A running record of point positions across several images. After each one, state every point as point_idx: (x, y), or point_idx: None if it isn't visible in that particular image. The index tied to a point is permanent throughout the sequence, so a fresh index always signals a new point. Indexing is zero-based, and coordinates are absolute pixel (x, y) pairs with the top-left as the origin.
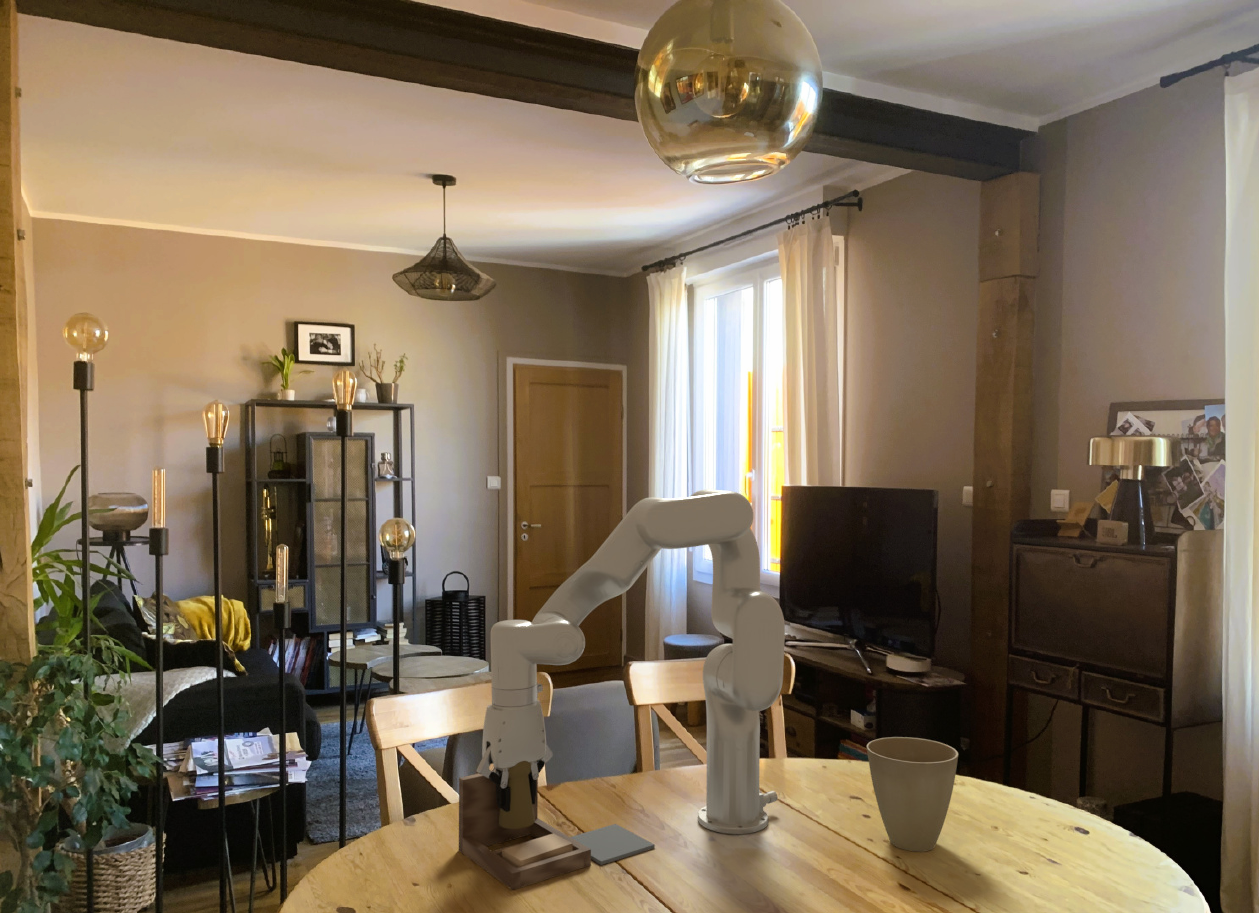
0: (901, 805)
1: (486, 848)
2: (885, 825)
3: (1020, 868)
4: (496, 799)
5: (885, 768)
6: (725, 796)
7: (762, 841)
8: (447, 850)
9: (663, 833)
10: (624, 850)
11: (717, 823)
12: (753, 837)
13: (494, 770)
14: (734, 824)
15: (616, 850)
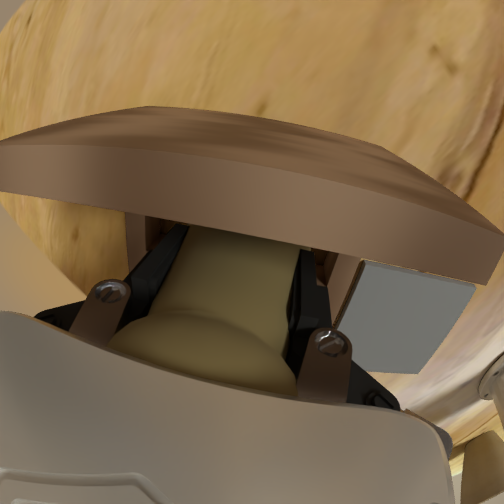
0: (464, 478)
1: (142, 230)
2: (478, 449)
3: (452, 464)
4: (145, 256)
5: (470, 499)
6: (502, 414)
7: (468, 406)
8: (130, 87)
9: (470, 345)
10: (377, 365)
11: (492, 380)
12: (476, 398)
13: (70, 332)
14: (490, 391)
15: (371, 358)
